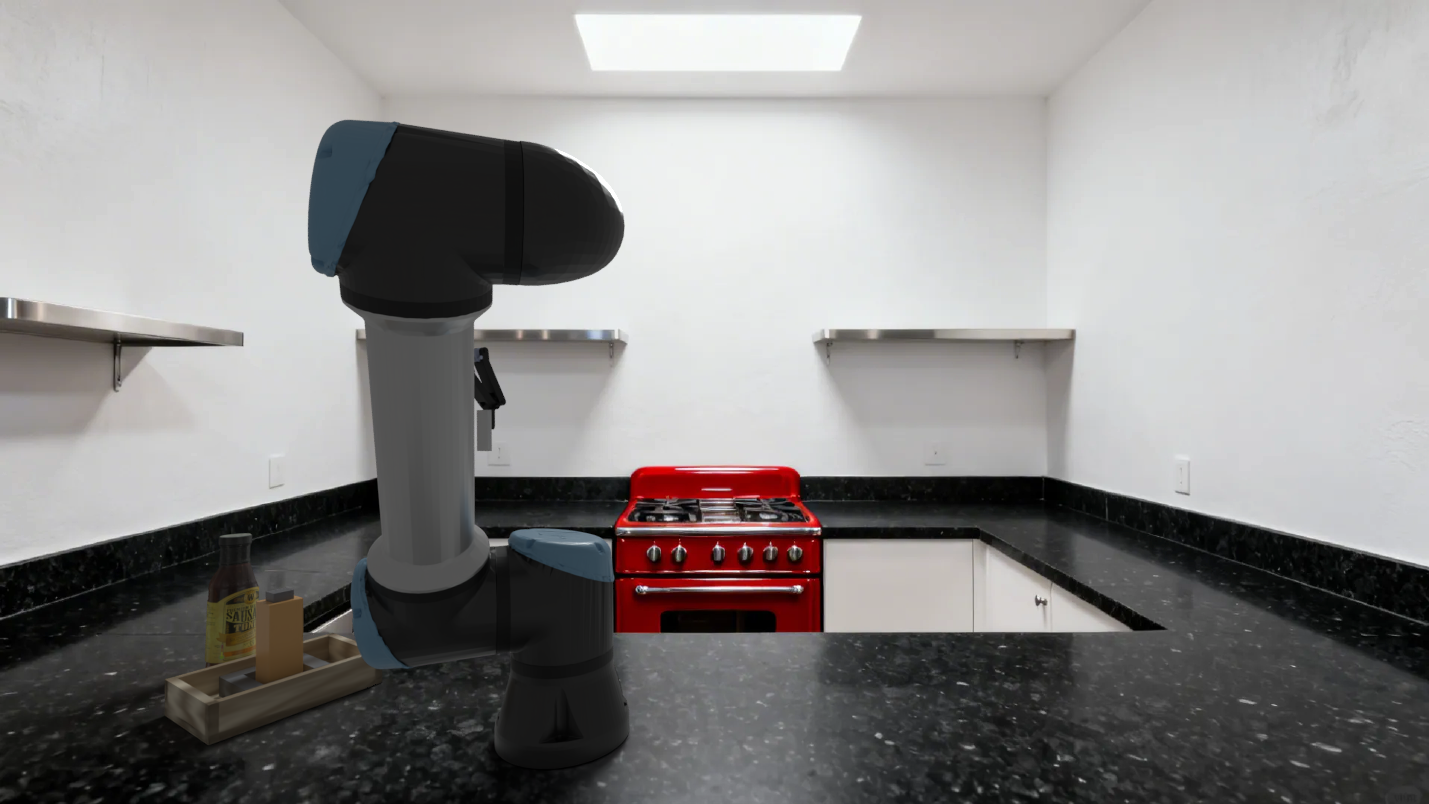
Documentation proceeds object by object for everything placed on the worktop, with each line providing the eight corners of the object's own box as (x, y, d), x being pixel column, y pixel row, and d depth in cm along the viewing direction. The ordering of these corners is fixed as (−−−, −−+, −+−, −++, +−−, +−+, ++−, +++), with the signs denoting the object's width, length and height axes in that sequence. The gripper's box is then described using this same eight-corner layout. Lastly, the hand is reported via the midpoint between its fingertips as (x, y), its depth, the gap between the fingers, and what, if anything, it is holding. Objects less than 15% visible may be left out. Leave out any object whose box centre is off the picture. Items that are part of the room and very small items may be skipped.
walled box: (382, 682, 88) (382, 649, 88) (208, 745, 72) (208, 705, 72) (332, 662, 96) (332, 632, 96) (164, 715, 79) (164, 679, 79)
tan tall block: (303, 688, 84) (303, 589, 85) (269, 699, 81) (269, 596, 81) (289, 681, 87) (289, 585, 87) (255, 692, 83) (255, 592, 84)
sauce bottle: (228, 678, 91) (229, 539, 91) (193, 675, 92) (194, 538, 92) (269, 661, 97) (269, 531, 98) (235, 658, 98) (236, 531, 99)
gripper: (497, 324, 107) (498, 448, 107) (346, 303, 86) (346, 457, 86) (527, 319, 103) (528, 449, 103) (375, 296, 82) (375, 458, 82)
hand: (445, 453), depth 94 cm, fingers open, 13 cm apart
